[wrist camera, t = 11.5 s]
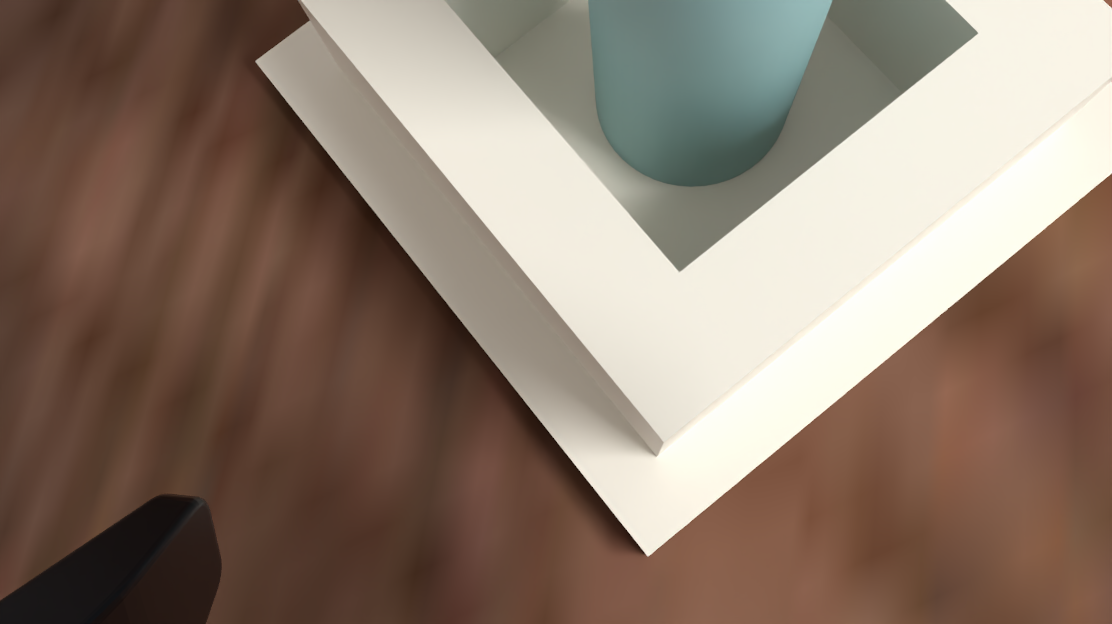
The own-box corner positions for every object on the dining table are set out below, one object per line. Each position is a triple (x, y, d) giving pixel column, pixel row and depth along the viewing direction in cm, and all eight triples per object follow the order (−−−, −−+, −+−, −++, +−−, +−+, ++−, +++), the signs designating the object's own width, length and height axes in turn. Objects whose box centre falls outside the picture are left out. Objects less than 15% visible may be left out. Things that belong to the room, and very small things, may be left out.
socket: (647, 555, 17) (653, 562, 14) (265, 74, 20) (189, -22, 16) (1145, 143, 18) (1268, 53, 15) (722, -266, 21) (743, -426, 17)
